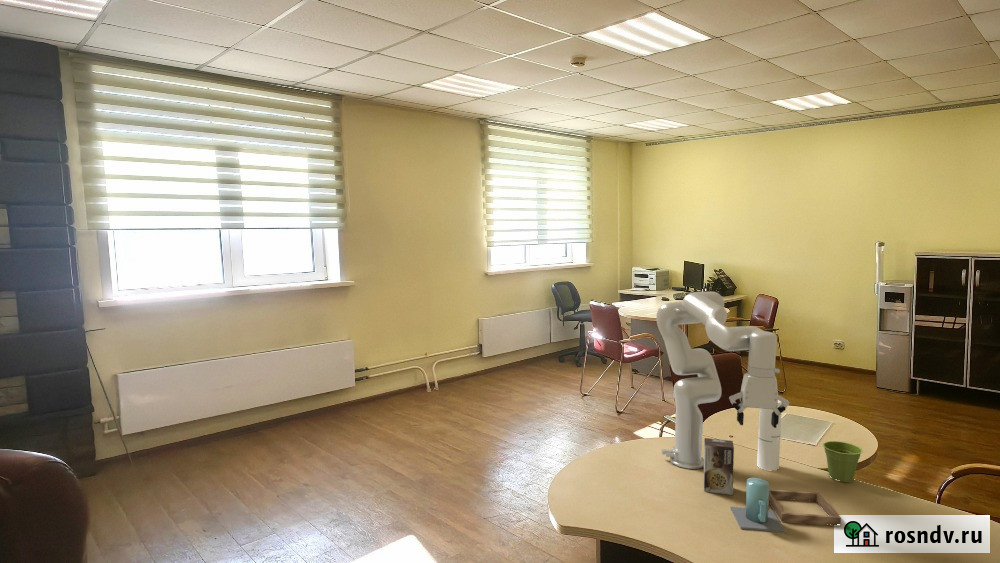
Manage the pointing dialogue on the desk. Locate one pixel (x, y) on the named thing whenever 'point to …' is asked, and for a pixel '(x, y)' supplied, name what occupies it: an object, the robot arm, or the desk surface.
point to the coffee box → (718, 466)
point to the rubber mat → (744, 523)
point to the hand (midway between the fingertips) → (757, 425)
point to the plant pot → (842, 459)
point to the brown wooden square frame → (803, 518)
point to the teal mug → (757, 500)
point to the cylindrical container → (768, 440)
